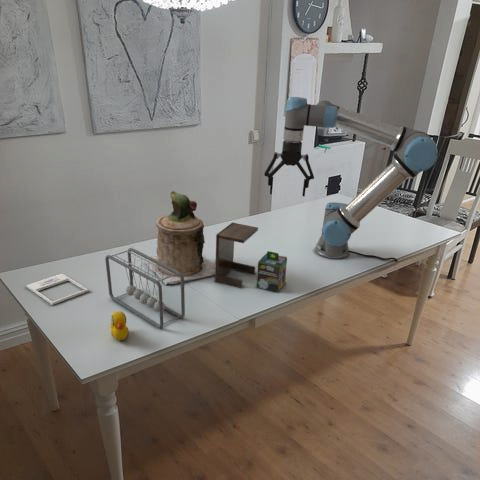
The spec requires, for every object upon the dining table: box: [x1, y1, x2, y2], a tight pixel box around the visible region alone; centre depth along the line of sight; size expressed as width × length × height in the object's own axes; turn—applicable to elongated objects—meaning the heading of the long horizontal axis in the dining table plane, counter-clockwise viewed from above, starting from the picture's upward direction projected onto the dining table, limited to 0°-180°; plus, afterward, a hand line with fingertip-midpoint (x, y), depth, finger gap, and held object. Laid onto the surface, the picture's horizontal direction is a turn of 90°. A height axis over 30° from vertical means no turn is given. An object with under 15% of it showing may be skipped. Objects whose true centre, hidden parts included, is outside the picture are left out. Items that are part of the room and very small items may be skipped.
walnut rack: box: [214, 222, 259, 289], centre depth 185 cm, size 11×15×20 cm
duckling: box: [110, 311, 130, 341], centre depth 147 cm, size 11×5×10 cm, turn 20°
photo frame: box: [26, 273, 89, 306], centre depth 174 cm, size 15×1×18 cm
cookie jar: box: [143, 190, 216, 286], centre depth 186 cm, size 25×25×32 cm
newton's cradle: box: [104, 247, 186, 329], centre depth 161 cm, size 30×10×18 cm, turn 48°
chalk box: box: [256, 250, 288, 293], centre depth 182 cm, size 9×9×15 cm
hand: (287, 194), depth 194 cm, fingers open, 13 cm apart
